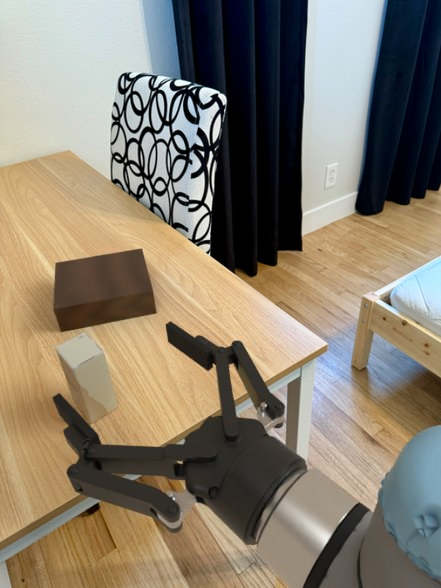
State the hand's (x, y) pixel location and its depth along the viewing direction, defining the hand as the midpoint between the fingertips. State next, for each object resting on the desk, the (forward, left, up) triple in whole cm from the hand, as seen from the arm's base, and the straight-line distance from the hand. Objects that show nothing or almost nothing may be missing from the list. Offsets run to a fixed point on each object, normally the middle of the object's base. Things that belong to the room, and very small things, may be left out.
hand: (118, 364), depth 44 cm
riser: (-2, +32, -15) cm, 36 cm away
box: (-5, +8, -15) cm, 18 cm away
